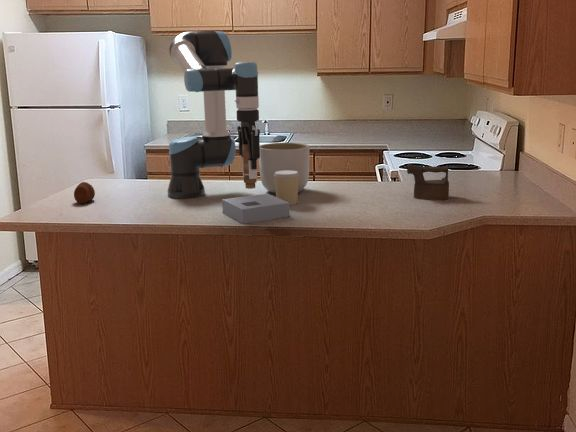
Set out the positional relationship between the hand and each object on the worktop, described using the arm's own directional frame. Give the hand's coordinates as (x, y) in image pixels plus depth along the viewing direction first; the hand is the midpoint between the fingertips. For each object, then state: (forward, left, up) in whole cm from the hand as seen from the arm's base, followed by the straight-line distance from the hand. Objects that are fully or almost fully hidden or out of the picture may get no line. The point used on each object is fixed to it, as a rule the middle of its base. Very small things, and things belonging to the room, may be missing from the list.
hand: (250, 177), depth 220 cm
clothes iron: (+9, +72, -15) cm, 74 cm away
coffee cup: (-13, +21, -15) cm, 29 cm away
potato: (-59, -46, -15) cm, 76 cm away
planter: (-32, +30, -15) cm, 46 cm away
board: (-3, +3, -14) cm, 15 cm away
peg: (0, 0, -4) cm, 4 cm away
